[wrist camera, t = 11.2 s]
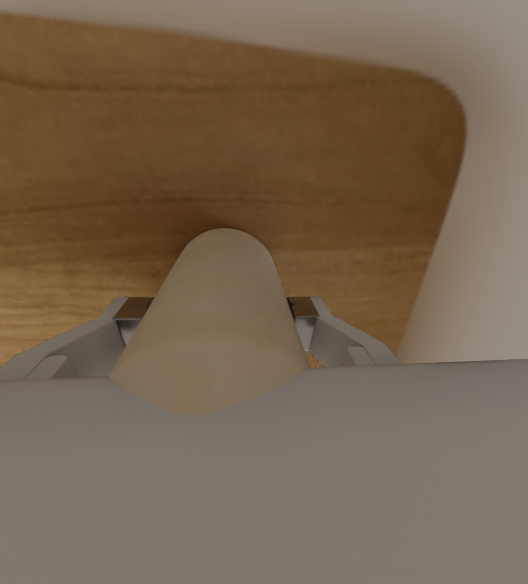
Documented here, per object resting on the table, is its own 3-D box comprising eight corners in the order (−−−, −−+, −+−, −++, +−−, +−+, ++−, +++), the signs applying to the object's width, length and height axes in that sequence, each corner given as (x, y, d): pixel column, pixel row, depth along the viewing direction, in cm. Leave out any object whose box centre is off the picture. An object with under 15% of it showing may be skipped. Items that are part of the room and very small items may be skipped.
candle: (290, 284, 14) (375, 485, 5) (218, 325, 15) (193, 548, 6) (239, 205, 11) (249, 355, 3) (156, 261, 12) (-27, 498, 4)
